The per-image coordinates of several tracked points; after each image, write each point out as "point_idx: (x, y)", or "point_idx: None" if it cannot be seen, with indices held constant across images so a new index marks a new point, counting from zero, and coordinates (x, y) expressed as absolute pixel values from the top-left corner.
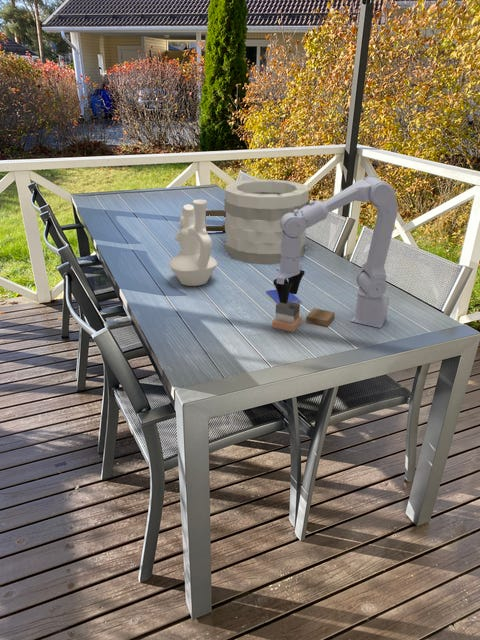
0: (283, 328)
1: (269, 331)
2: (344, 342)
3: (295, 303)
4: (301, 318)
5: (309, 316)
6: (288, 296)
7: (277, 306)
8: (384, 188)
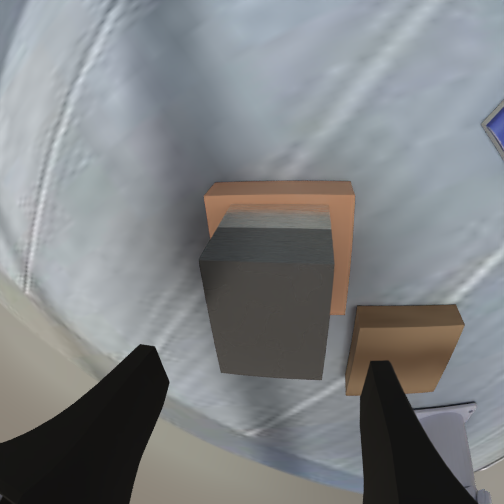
0: None
1: (167, 191)
2: (261, 418)
3: (314, 361)
4: (338, 310)
5: (365, 338)
6: (148, 434)
7: (203, 268)
8: None
